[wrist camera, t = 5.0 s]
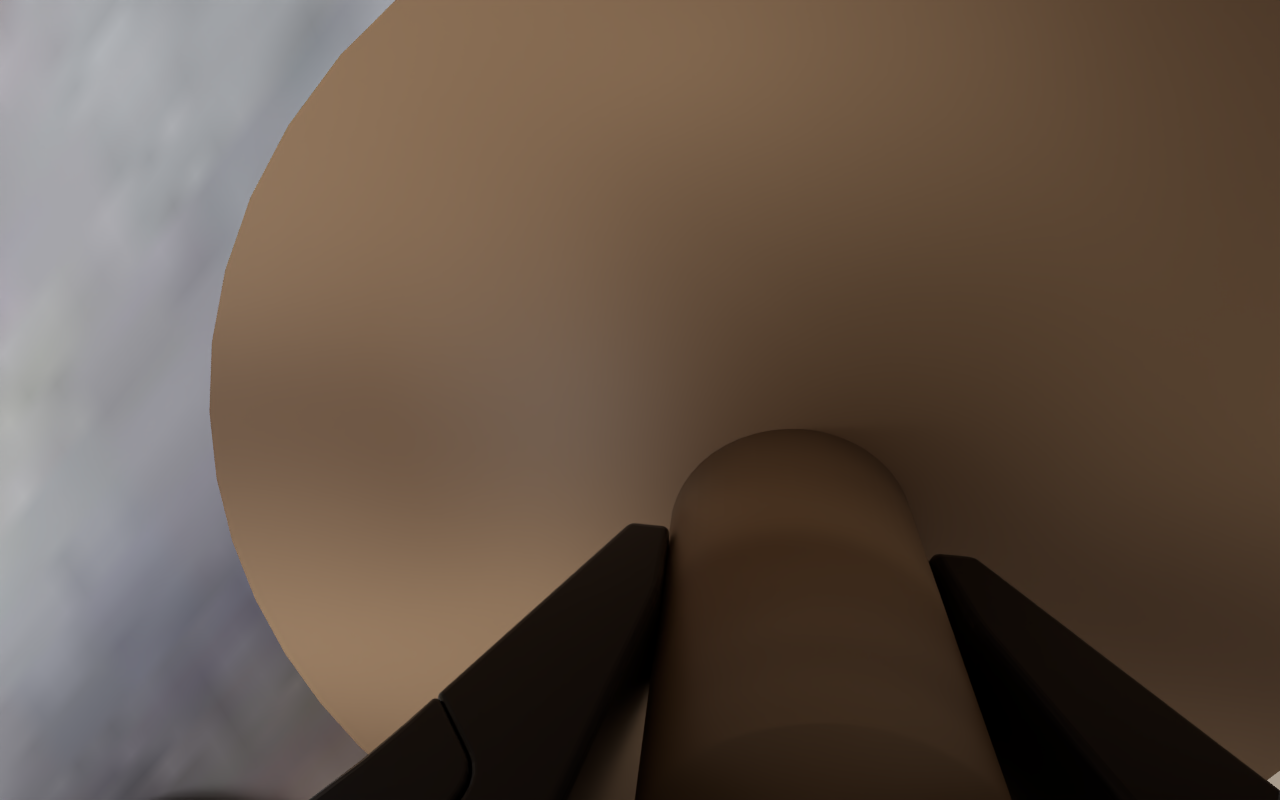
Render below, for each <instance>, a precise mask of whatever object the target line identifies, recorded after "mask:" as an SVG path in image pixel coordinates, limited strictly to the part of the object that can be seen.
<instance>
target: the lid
mask: <svg viewBox="0 0 1280 800" xmlns="http://www.w3.org/2000/svg"><path fill="white" fill-rule="evenodd" d="M210 420H211V430H212V439H213V448H214V458H215V467H216V476H217V481H218V485H219V489H220V493H221V497H222V501H223V505H224V509H225V513H226V517H227V521H228V525H229V529H230V533H231V537H232V541H233V544H234V546H235V549H236V551H237V554H238V556H239V559H240V561H241V564H242V567H243V569H244V572H245V574H246V577H247V579H248V582H249V584H250V587H251V589H252V592H253V594H254V597H255V599H256V601H257V603H258V605H259V607H260V609H261V610H262V612H263V614H264V616H265V618H266V620H267V621H268V623H269V625H270V627H271V629H272V630H273V632H274V634H275V636H276V638H277V640H278V641H279V643H280V645H281V647H282V649H283V651H284V652H285V654H286V655H287V657H288V658H289V660H290V661H291V662H292V664H293V665H294V667H295V668H296V669H297V671H298V672H299V674H300V675H301V676H302V678H303V679H304V681H305V682H306V683H307V685H308V686H309V688H310V689H311V690H312V692H313V693H314V695H315V696H316V697H317V699H318V700H319V702H320V703H321V704H322V705H323V706H324V707H325V709H326V710H327V711H328V712H329V713H330V714H331V715H332V716H333V717H334V719H335V720H336V721H337V722H338V723H339V724H340V725H341V726H342V727H343V729H344V730H345V731H346V732H347V733H348V734H349V735H350V736H351V737H352V739H353V740H354V741H355V742H356V743H357V744H358V745H359V746H360V747H361V748H362V749H363V750H364V751H365V752H366V753H367V754H369V753H370V752H372V751H373V750H374V749H375V748H376V747H378V746H379V745H380V744H381V743H382V742H384V741H385V740H386V739H387V738H388V737H389V736H391V735H392V734H393V733H394V732H395V731H397V730H398V729H399V728H400V727H401V726H403V725H404V724H405V723H406V722H407V721H408V720H409V719H411V718H412V717H413V716H414V715H415V714H416V713H417V712H418V711H420V710H421V709H422V708H423V707H424V706H425V705H426V704H427V703H428V702H430V701H431V700H432V699H434V698H437V699H438V695H439V693H440V692H441V691H442V690H444V689H445V688H446V687H447V686H448V685H449V684H450V683H451V682H452V681H454V680H455V679H456V678H457V677H458V676H459V675H460V674H461V673H463V672H464V671H465V670H466V669H467V668H468V667H469V666H470V665H471V664H473V663H474V662H475V661H476V660H477V659H478V658H479V657H480V656H482V655H483V654H484V653H485V652H486V651H487V650H488V649H489V648H490V647H492V646H493V645H494V644H495V643H496V642H497V641H498V640H499V639H501V638H502V637H503V636H504V635H505V634H506V633H507V632H508V631H509V630H511V629H512V628H513V627H514V626H515V625H516V624H517V623H518V622H520V621H521V620H522V619H523V618H524V617H525V616H526V615H527V614H528V613H530V612H531V611H532V610H533V609H534V608H535V607H536V606H537V605H539V604H540V603H541V602H542V601H543V600H544V599H545V598H546V597H548V596H549V595H550V594H551V593H552V592H553V591H554V590H555V589H556V588H558V587H559V586H560V585H561V584H562V583H563V582H564V581H565V580H567V579H568V578H569V577H570V576H571V575H572V574H573V573H574V572H575V571H577V570H578V569H579V568H580V567H581V566H582V565H583V564H584V563H586V562H587V561H588V560H589V559H590V558H591V557H592V556H593V555H594V554H596V553H597V552H598V551H599V550H600V549H601V548H602V547H603V546H605V545H606V544H607V543H608V542H609V541H610V540H611V539H612V538H613V537H615V536H616V535H617V534H618V533H619V532H620V531H621V530H622V529H624V528H625V527H626V526H627V525H629V524H631V523H639V524H649V525H659V526H664V527H666V528H667V529H668V531H669V546H668V554H667V562H666V570H665V578H664V585H663V593H662V601H661V609H660V617H659V625H658V631H657V637H656V643H655V649H654V656H653V662H652V669H651V677H650V684H649V692H648V700H647V708H646V716H645V723H644V731H643V739H642V747H641V755H640V762H639V770H638V778H637V786H636V793H635V800H1012V799H1011V796H1010V794H1009V791H1008V788H1007V785H1006V782H1005V779H1004V776H1003V774H1002V771H1001V768H1000V765H999V762H998V759H997V756H996V753H995V751H994V748H993V745H992V742H991V739H990V736H989V733H988V731H987V728H986V725H985V722H984V719H983V716H982V713H981V711H980V708H979V705H978V702H977V699H976V696H975V693H974V691H973V688H972V685H971V682H970V679H969V676H968V673H967V671H966V668H965V665H964V662H963V659H962V656H961V653H960V650H959V648H958V645H957V642H956V639H955V636H954V633H953V630H952V628H951V625H950V622H949V619H948V616H947V613H946V610H945V608H944V605H943V602H942V599H941V596H940V593H939V590H938V588H937V585H936V582H935V579H934V576H933V573H932V570H931V568H930V565H929V561H930V559H931V558H932V557H933V556H934V555H936V554H948V555H958V556H968V557H973V558H976V559H977V560H979V561H980V562H982V563H983V564H984V565H985V566H987V567H988V568H989V569H991V570H992V571H993V572H995V573H996V574H997V575H999V576H1000V577H1001V578H1002V579H1004V580H1005V581H1006V582H1008V583H1009V584H1010V585H1012V586H1013V587H1014V588H1016V589H1017V590H1018V591H1019V592H1021V593H1022V594H1023V595H1025V596H1026V597H1027V598H1029V599H1030V600H1031V601H1033V602H1034V603H1035V604H1036V605H1038V606H1039V607H1040V608H1042V609H1043V610H1044V611H1046V612H1047V613H1048V614H1050V615H1051V616H1052V617H1054V618H1055V619H1056V620H1057V621H1059V622H1060V623H1061V624H1063V625H1064V626H1065V627H1067V628H1068V629H1069V630H1071V631H1072V632H1073V633H1074V634H1076V635H1077V636H1078V637H1080V638H1081V639H1082V640H1084V641H1085V642H1086V643H1088V644H1089V645H1090V646H1091V647H1093V648H1094V649H1095V650H1097V651H1098V652H1099V653H1101V654H1102V655H1103V656H1105V657H1106V658H1107V659H1108V660H1110V661H1111V662H1112V663H1114V664H1115V665H1116V666H1118V667H1119V668H1120V669H1122V670H1123V671H1124V672H1125V673H1127V674H1128V675H1129V676H1131V677H1132V678H1133V679H1135V680H1136V681H1137V682H1139V683H1140V684H1141V685H1143V686H1144V687H1145V688H1146V689H1148V690H1149V691H1150V692H1152V693H1153V694H1154V695H1156V696H1157V697H1158V698H1160V699H1161V700H1162V701H1163V702H1165V703H1166V704H1167V705H1169V706H1170V707H1171V708H1173V709H1174V710H1175V711H1177V712H1178V713H1179V714H1180V715H1182V716H1183V717H1184V718H1186V719H1187V720H1188V721H1190V722H1191V723H1192V724H1194V725H1195V726H1196V727H1197V728H1199V729H1200V730H1201V731H1203V732H1204V733H1205V734H1207V735H1208V736H1209V737H1211V738H1212V739H1213V740H1215V741H1216V742H1217V743H1218V744H1220V745H1221V746H1222V747H1224V748H1225V749H1226V750H1228V751H1229V752H1230V753H1232V754H1233V755H1234V756H1235V757H1237V758H1238V759H1239V760H1241V761H1242V762H1243V763H1245V764H1246V765H1247V766H1249V767H1250V768H1251V769H1252V770H1254V771H1255V772H1256V773H1258V774H1259V775H1260V776H1262V777H1263V778H1264V779H1266V780H1268V779H1269V778H1271V777H1272V776H1273V775H1274V774H1276V773H1277V772H1278V771H1280V0H395V1H394V2H393V3H392V4H391V5H390V6H389V7H388V8H387V9H386V10H385V11H384V12H383V13H382V14H381V15H380V16H379V17H378V18H377V19H376V20H375V21H374V22H373V23H372V24H371V25H370V26H369V27H368V28H367V29H366V30H365V31H364V32H363V33H362V34H361V35H360V36H359V37H358V38H357V39H356V40H355V41H354V42H353V43H352V44H351V45H350V46H349V47H348V48H347V49H346V50H345V51H344V52H343V53H342V54H341V55H340V56H339V58H338V59H337V60H336V62H335V63H334V64H333V66H332V67H331V69H330V70H329V71H328V73H327V74H326V75H325V77H324V78H323V79H322V81H321V82H320V83H319V85H318V86H317V87H316V89H315V90H314V92H313V93H312V94H311V96H310V97H309V98H308V100H307V101H306V102H305V104H304V105H303V106H302V108H301V109H300V110H299V112H298V113H297V115H296V116H295V117H294V119H293V120H292V121H291V123H290V124H289V125H288V127H287V129H286V131H285V133H284V135H283V137H282V139H281V141H280V142H279V144H278V146H277V148H276V150H275V152H274V154H273V156H272V158H271V160H270V161H269V163H268V165H267V167H266V169H265V171H264V173H263V175H262V177H261V179H260V180H259V182H258V184H257V186H256V188H255V190H254V192H253V194H252V196H251V198H250V201H249V203H248V206H247V209H246V212H245V215H244V218H243V221H242V224H241V227H240V229H239V232H238V235H237V238H236V241H235V244H234V247H233V250H232V253H231V255H230V258H229V261H228V264H227V267H226V270H225V275H224V280H223V286H222V291H221V297H220V302H219V307H218V313H217V318H216V324H215V329H214V334H213V340H212V358H211V386H210Z"/></svg>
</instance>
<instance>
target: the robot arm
mask: <svg viewBox="0 0 1280 800" xmlns="http://www.w3.org/2000/svg"><path fill="white" fill-rule="evenodd" d="M668 546H669V531H668V529H667V528H666V527H664V526H659V525H649V524H639V523H631V524H629V525H627V526H626V527H625V528H624V529H622V530H621V531H620V532H619V533H618V534H617V535H616V536H615V537H613V538H612V539H611V540H610V541H609V542H608V543H607V544H606V545H605V546H603V547H602V548H601V549H600V550H599V551H598V552H597V553H596V554H594V555H593V556H592V557H591V558H590V559H589V560H588V561H587V562H586V563H584V564H583V565H582V566H581V567H580V568H579V569H578V570H577V571H575V572H574V573H573V574H572V575H571V576H570V577H569V578H568V579H567V580H565V581H564V582H563V583H562V584H561V585H560V586H559V587H558V588H556V589H555V590H554V591H553V592H552V593H551V594H550V595H549V596H548V597H546V598H545V599H544V600H543V601H542V602H541V603H540V604H539V605H537V606H536V607H535V608H534V609H533V610H532V611H531V612H530V613H528V614H527V615H526V616H525V617H524V618H523V619H522V620H521V621H520V622H518V623H517V624H516V625H515V626H514V627H513V628H512V629H511V630H509V631H508V632H507V633H506V634H505V635H504V636H503V637H502V638H501V639H499V640H498V641H497V642H496V643H495V644H494V645H493V646H492V647H490V648H489V649H488V650H487V651H486V652H485V653H484V654H483V655H482V656H480V657H479V658H478V659H477V660H476V661H475V662H474V663H473V664H471V665H470V666H469V667H468V668H467V669H466V670H465V671H464V672H463V673H461V674H460V675H459V676H458V677H457V678H456V679H455V680H454V681H452V682H451V683H450V684H449V685H448V686H447V687H446V688H445V689H444V690H442V691H441V692H440V693H439V695H438V699H437V698H434V699H432V700H431V701H430V702H428V703H427V704H426V705H425V706H424V707H423V708H422V709H421V710H420V711H418V712H417V713H416V714H415V715H414V716H413V717H412V718H411V719H409V720H408V721H407V722H406V723H405V724H404V725H403V726H401V727H400V728H399V729H398V730H397V731H395V732H394V733H393V734H392V735H391V736H389V737H388V738H387V739H386V740H385V741H384V742H382V743H381V744H380V745H379V746H378V747H376V748H375V749H374V750H373V751H372V752H370V753H369V754H368V755H367V756H366V757H365V758H363V759H362V760H361V761H360V762H358V763H357V764H356V765H354V766H353V767H352V768H350V769H349V770H348V771H346V772H345V773H344V774H342V775H341V776H340V777H339V778H337V779H336V780H335V781H333V782H332V783H331V784H329V785H328V786H327V787H325V788H324V789H323V790H321V791H320V792H319V793H317V794H316V795H315V796H313V797H312V798H311V799H309V800H635V793H636V786H637V778H638V770H639V762H640V755H641V747H642V739H643V731H644V723H645V716H646V708H647V700H648V692H649V684H650V677H651V669H652V662H653V656H654V649H655V643H656V637H657V631H658V625H659V617H660V609H661V601H662V593H663V585H664V578H665V570H666V562H667V554H668ZM929 565H930V568H931V570H932V573H933V576H934V579H935V582H936V585H937V588H938V590H939V593H940V596H941V599H942V602H943V605H944V608H945V610H946V613H947V616H948V619H949V622H950V625H951V628H952V630H953V633H954V636H955V639H956V642H957V645H958V648H959V650H960V653H961V656H962V659H963V662H964V665H965V668H966V671H967V673H968V676H969V679H970V682H971V685H972V688H973V691H974V693H975V696H976V699H977V702H978V705H979V708H980V711H981V713H982V716H983V719H984V722H985V725H986V728H987V731H988V733H989V736H990V739H991V742H992V745H993V748H994V751H995V753H996V756H997V759H998V762H999V765H1000V768H1001V771H1002V774H1003V776H1004V779H1005V782H1006V785H1007V788H1008V791H1009V794H1010V796H1011V799H1012V800H1280V790H1279V789H1277V788H1276V787H1275V786H1273V785H1272V784H1270V783H1269V782H1268V781H1267V780H1266V779H1264V778H1263V777H1262V776H1260V775H1259V774H1258V773H1256V772H1255V771H1254V770H1252V769H1251V768H1250V767H1249V766H1247V765H1246V764H1245V763H1243V762H1242V761H1241V760H1239V759H1238V758H1237V757H1235V756H1234V755H1233V754H1232V753H1230V752H1229V751H1228V750H1226V749H1225V748H1224V747H1222V746H1221V745H1220V744H1218V743H1217V742H1216V741H1215V740H1213V739H1212V738H1211V737H1209V736H1208V735H1207V734H1205V733H1204V732H1203V731H1201V730H1200V729H1199V728H1197V727H1196V726H1195V725H1194V724H1192V723H1191V722H1190V721H1188V720H1187V719H1186V718H1184V717H1183V716H1182V715H1180V714H1179V713H1178V712H1177V711H1175V710H1174V709H1173V708H1171V707H1170V706H1169V705H1167V704H1166V703H1165V702H1163V701H1162V700H1161V699H1160V698H1158V697H1157V696H1156V695H1154V694H1153V693H1152V692H1150V691H1149V690H1148V689H1146V688H1145V687H1144V686H1143V685H1141V684H1140V683H1139V682H1137V681H1136V680H1135V679H1133V678H1132V677H1131V676H1129V675H1128V674H1127V673H1125V672H1124V671H1123V670H1122V669H1120V668H1119V667H1118V666H1116V665H1115V664H1114V663H1112V662H1111V661H1110V660H1108V659H1107V658H1106V657H1105V656H1103V655H1102V654H1101V653H1099V652H1098V651H1097V650H1095V649H1094V648H1093V647H1091V646H1090V645H1089V644H1088V643H1086V642H1085V641H1084V640H1082V639H1081V638H1080V637H1078V636H1077V635H1076V634H1074V633H1073V632H1072V631H1071V630H1069V629H1068V628H1067V627H1065V626H1064V625H1063V624H1061V623H1060V622H1059V621H1057V620H1056V619H1055V618H1054V617H1052V616H1051V615H1050V614H1048V613H1047V612H1046V611H1044V610H1043V609H1042V608H1040V607H1039V606H1038V605H1036V604H1035V603H1034V602H1033V601H1031V600H1030V599H1029V598H1027V597H1026V596H1025V595H1023V594H1022V593H1021V592H1019V591H1018V590H1017V589H1016V588H1014V587H1013V586H1012V585H1010V584H1009V583H1008V582H1006V581H1005V580H1004V579H1002V578H1001V577H1000V576H999V575H997V574H996V573H995V572H993V571H992V570H991V569H989V568H988V567H987V566H985V565H984V564H983V563H982V562H980V561H979V560H977V559H976V558H973V557H968V556H958V555H948V554H936V555H934V556H933V557H932V558H931V559H930V561H929Z"/></svg>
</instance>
